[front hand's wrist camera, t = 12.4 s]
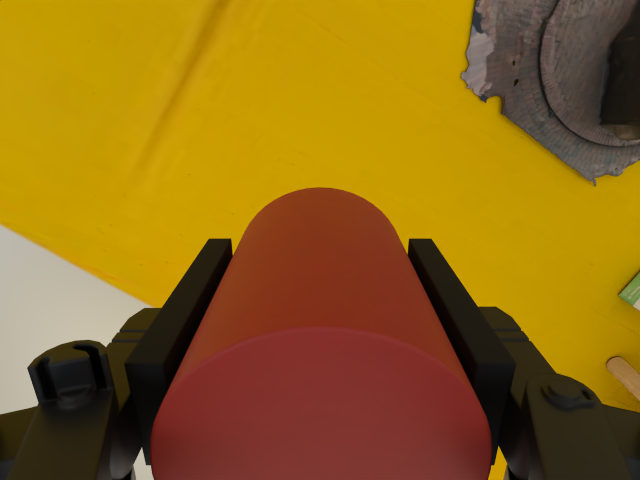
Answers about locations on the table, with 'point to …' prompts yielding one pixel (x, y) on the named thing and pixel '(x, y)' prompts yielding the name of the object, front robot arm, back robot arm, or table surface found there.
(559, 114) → the sculpture
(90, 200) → the table surface
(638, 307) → the ink box
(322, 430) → the can
